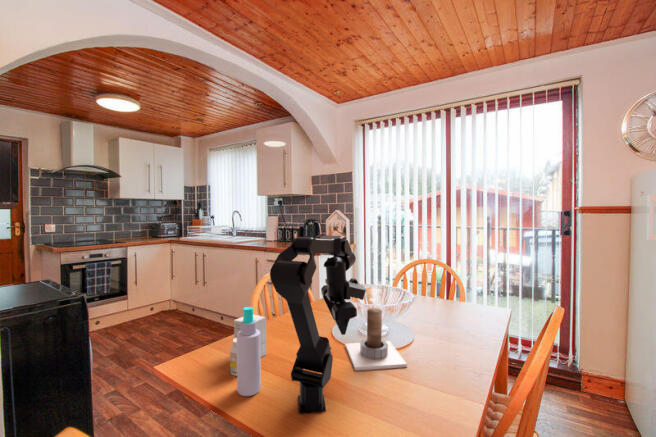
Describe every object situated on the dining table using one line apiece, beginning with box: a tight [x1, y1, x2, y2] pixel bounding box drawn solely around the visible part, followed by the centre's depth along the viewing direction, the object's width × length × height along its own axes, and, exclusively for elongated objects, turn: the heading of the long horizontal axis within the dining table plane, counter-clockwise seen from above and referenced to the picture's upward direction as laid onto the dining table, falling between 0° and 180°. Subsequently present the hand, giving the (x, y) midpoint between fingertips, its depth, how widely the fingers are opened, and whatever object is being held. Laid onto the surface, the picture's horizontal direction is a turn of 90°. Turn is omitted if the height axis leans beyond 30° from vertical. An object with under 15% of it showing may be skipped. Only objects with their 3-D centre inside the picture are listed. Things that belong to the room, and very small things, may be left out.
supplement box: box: [233, 313, 267, 358], centre depth 99 cm, size 7×7×13 cm
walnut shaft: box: [366, 307, 383, 348], centre depth 99 cm, size 5×5×14 cm
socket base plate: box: [345, 338, 408, 371], centre depth 100 cm, size 16×16×4 cm
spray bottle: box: [236, 306, 262, 397], centre depth 81 cm, size 6×6×22 cm
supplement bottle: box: [229, 338, 237, 377], centre depth 90 cm, size 5×5×10 cm
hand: (339, 326), depth 92 cm, fingers open, 9 cm apart
